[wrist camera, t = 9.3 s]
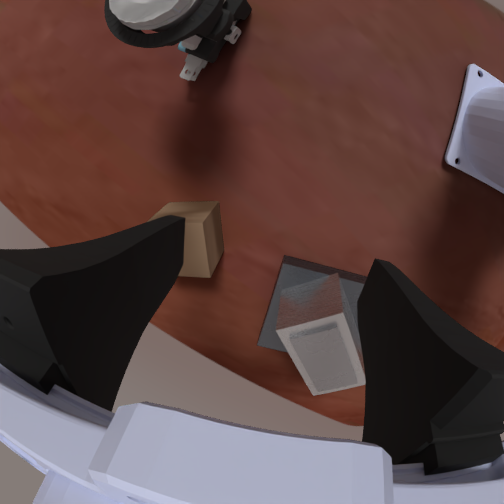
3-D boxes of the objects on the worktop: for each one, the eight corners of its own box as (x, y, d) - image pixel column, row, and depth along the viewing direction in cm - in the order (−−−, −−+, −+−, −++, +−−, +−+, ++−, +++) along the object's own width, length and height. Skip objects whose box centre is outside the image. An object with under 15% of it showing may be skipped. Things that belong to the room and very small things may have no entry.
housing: (361, 343, 24) (367, 386, 20) (314, 356, 26) (312, 398, 22) (337, 272, 21) (343, 315, 17) (281, 289, 23) (275, 333, 19)
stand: (400, 285, 22) (403, 294, 21) (357, 357, 27) (358, 366, 26) (284, 255, 23) (283, 263, 22) (259, 336, 27) (257, 345, 26)
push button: (225, 95, 18) (154, 95, 9) (160, 66, 17) (61, 58, 8) (274, 14, 14) (246, -55, 6) (204, -12, 14) (132, -72, 5)
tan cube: (219, 200, 21) (202, 222, 18) (224, 249, 23) (210, 277, 20) (169, 202, 22) (145, 222, 19) (177, 248, 24) (157, 274, 21)
